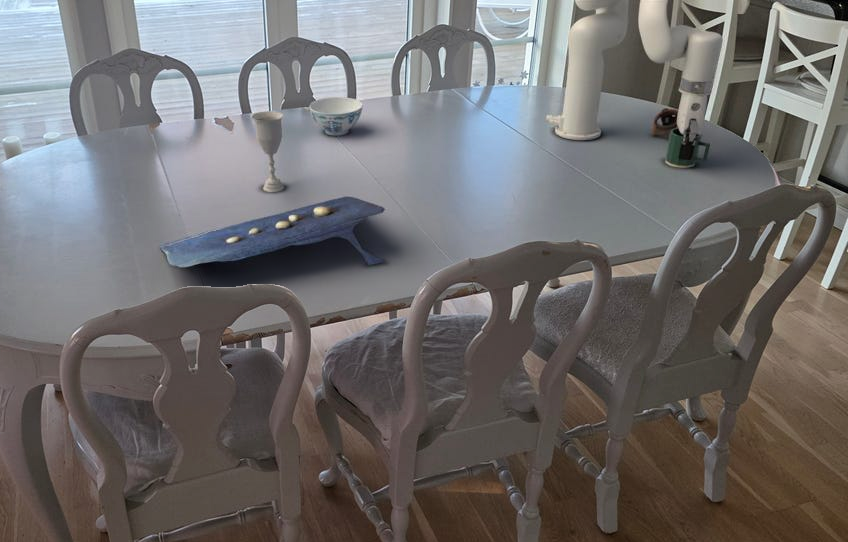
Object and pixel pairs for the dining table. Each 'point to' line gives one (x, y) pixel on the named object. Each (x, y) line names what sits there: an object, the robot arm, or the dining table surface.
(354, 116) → the chinaware
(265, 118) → the chalice
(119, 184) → the dining table surface
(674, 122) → the broken pottery
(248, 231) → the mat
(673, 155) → the green mug
